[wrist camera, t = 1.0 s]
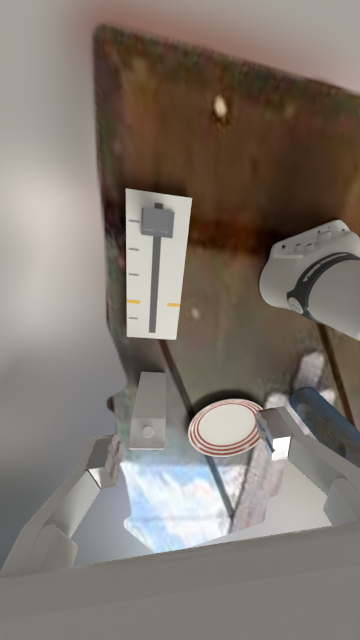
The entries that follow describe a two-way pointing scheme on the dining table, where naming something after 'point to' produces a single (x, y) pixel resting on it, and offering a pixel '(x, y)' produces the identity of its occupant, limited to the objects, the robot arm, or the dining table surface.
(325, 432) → the bottle
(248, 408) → the dinner plate
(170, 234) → the fader tab
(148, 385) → the milk carton
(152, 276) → the console board
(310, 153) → the dining table surface
